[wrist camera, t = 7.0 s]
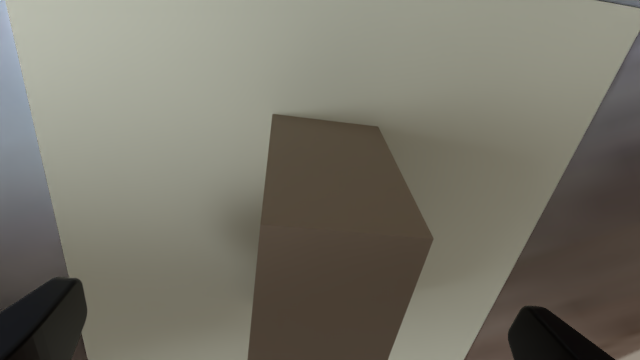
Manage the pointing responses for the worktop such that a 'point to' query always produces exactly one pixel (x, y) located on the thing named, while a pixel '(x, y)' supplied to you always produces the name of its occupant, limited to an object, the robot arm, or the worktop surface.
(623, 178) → the worktop surface
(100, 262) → the lid
